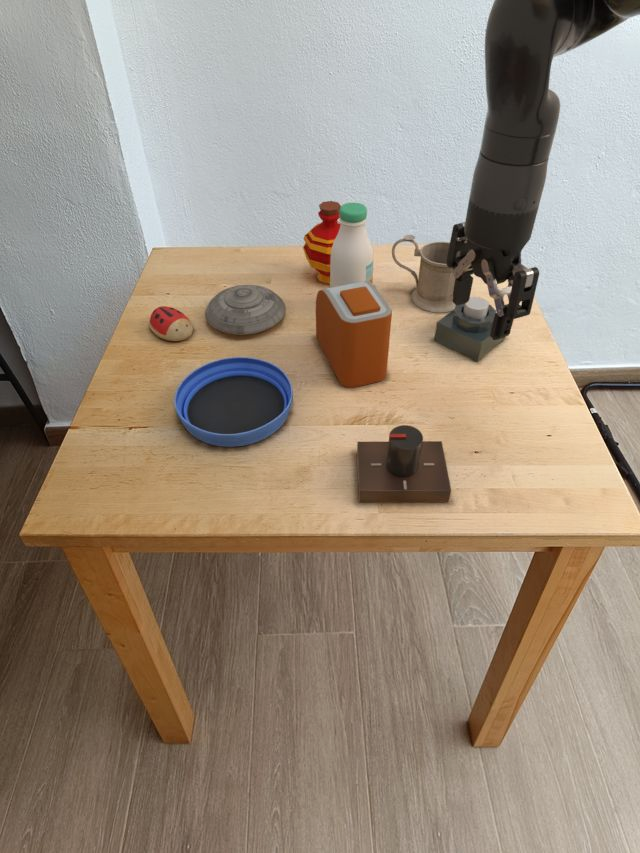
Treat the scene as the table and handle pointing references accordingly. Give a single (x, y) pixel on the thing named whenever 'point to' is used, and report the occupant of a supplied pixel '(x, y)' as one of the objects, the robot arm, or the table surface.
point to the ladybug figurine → (170, 324)
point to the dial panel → (391, 488)
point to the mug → (431, 276)
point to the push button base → (467, 333)
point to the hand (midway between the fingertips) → (478, 319)
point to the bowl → (234, 401)
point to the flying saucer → (245, 310)
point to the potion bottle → (323, 240)
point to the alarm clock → (354, 332)
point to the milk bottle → (351, 248)
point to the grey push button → (476, 308)
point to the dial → (404, 450)
